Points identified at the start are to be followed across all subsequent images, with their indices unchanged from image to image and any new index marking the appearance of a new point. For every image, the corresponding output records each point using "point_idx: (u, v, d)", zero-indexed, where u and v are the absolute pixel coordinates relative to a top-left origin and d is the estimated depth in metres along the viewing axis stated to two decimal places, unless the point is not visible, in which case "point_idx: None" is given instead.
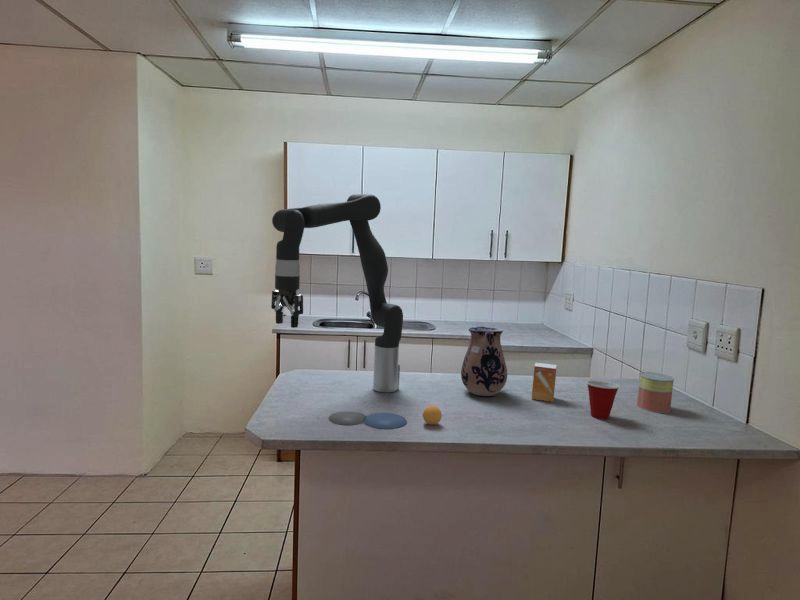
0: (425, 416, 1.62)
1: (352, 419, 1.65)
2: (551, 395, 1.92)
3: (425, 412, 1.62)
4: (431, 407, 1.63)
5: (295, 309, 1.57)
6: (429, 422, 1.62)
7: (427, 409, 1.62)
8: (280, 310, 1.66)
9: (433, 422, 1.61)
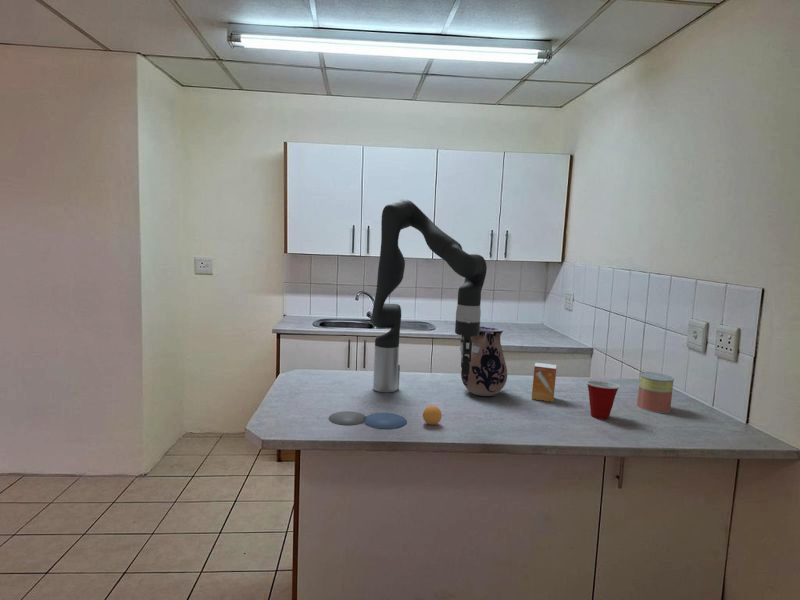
0: (425, 416, 1.62)
1: (352, 419, 1.65)
2: (551, 395, 1.92)
3: (425, 412, 1.62)
4: (431, 407, 1.63)
5: None
6: (429, 422, 1.62)
7: (427, 409, 1.62)
8: None
9: (433, 422, 1.61)
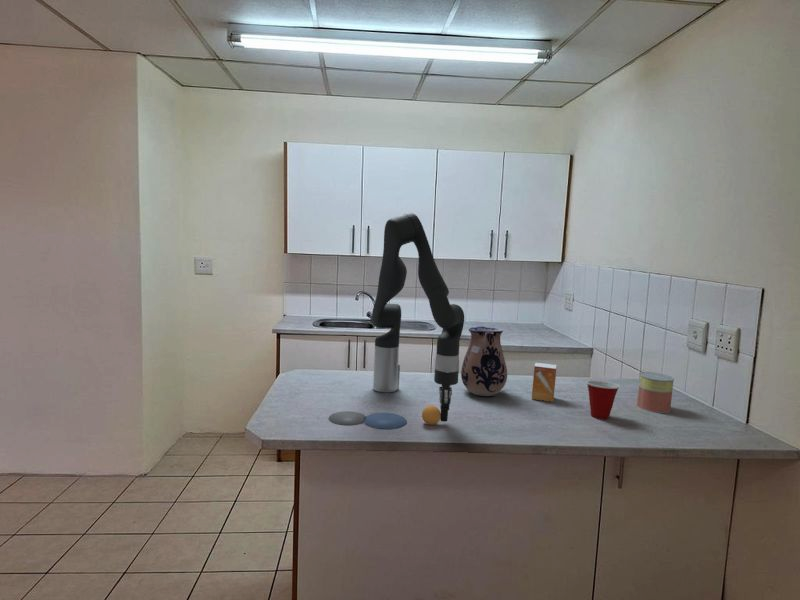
0: (424, 416, 1.62)
1: (352, 419, 1.65)
2: (551, 395, 1.92)
3: (424, 412, 1.62)
4: (430, 407, 1.63)
5: None
6: (428, 422, 1.62)
7: (426, 409, 1.62)
8: None
9: (432, 422, 1.61)
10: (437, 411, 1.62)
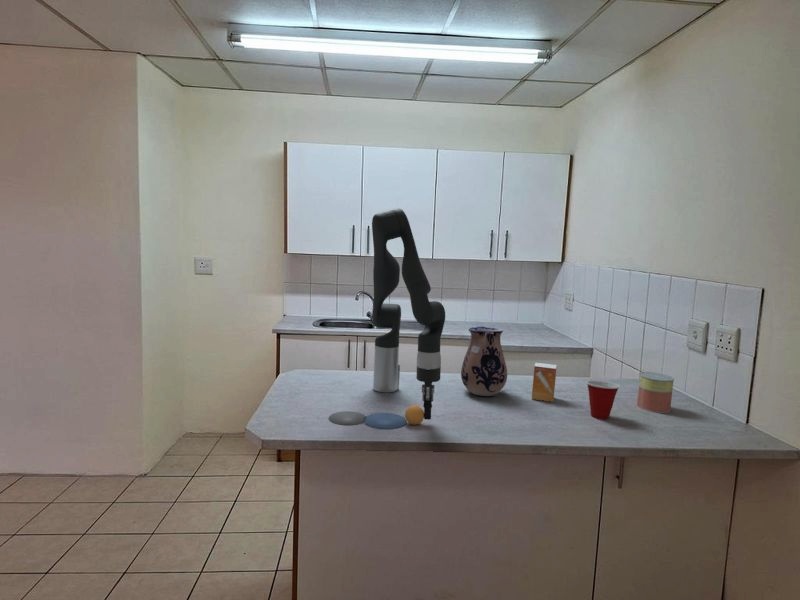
0: (409, 422, 1.62)
1: (352, 419, 1.65)
2: (551, 395, 1.92)
3: (406, 419, 1.62)
4: (406, 411, 1.63)
5: None
6: (416, 423, 1.61)
7: (405, 416, 1.63)
8: None
9: (418, 420, 1.61)
10: (412, 409, 1.61)
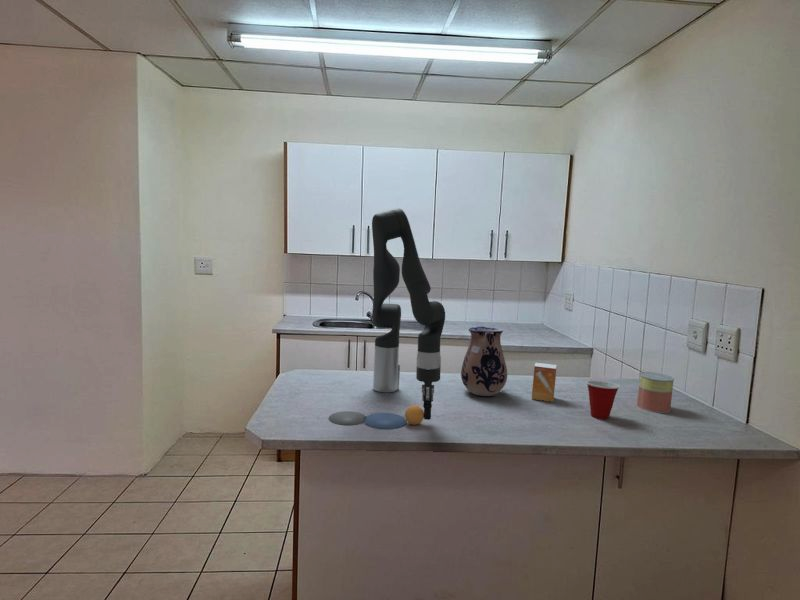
0: (409, 422, 1.62)
1: (352, 419, 1.65)
2: (551, 395, 1.92)
3: (406, 419, 1.62)
4: (406, 412, 1.63)
5: None
6: (416, 423, 1.61)
7: (405, 416, 1.63)
8: None
9: (417, 420, 1.61)
10: (412, 409, 1.61)
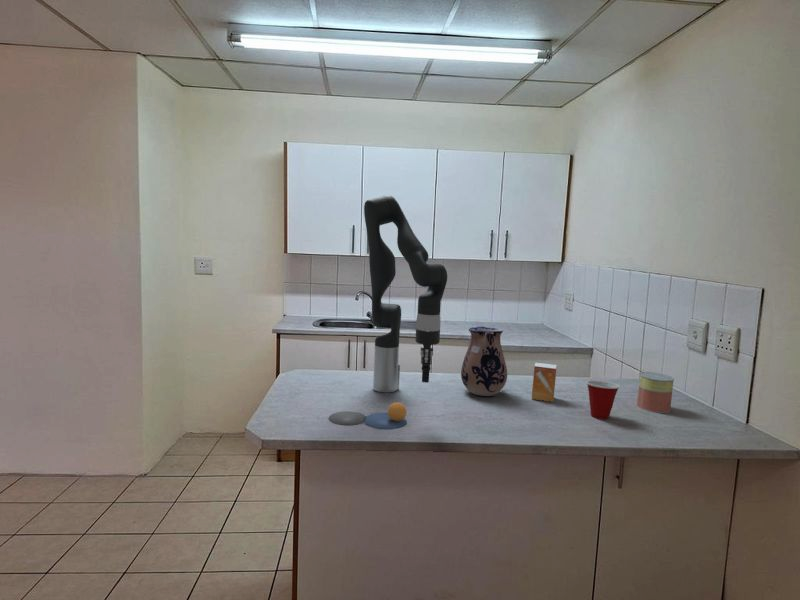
0: (401, 415, 1.63)
1: (352, 419, 1.65)
2: (551, 395, 1.92)
3: (400, 418, 1.63)
4: None
5: None
6: (398, 408, 1.63)
7: (398, 420, 1.64)
8: None
9: (395, 407, 1.63)
10: (388, 415, 1.64)
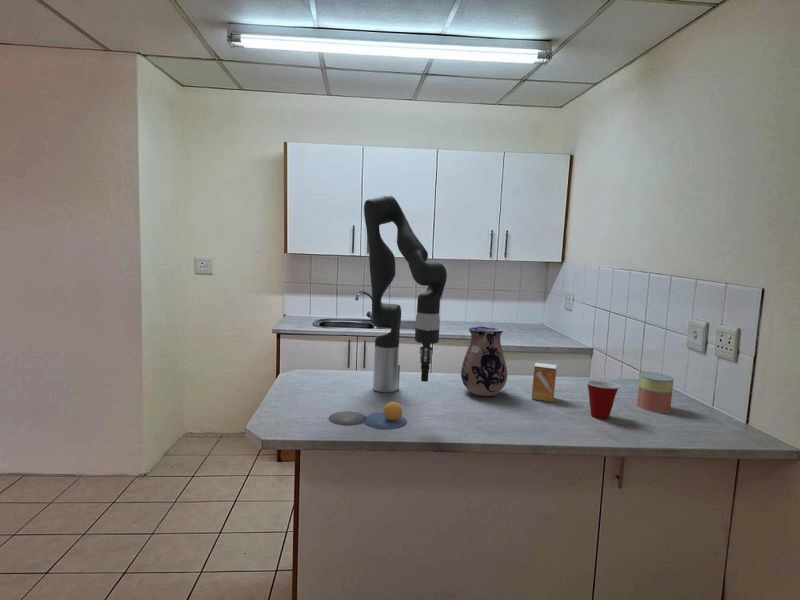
0: (396, 411, 1.63)
1: (352, 419, 1.65)
2: (551, 395, 1.92)
3: (398, 415, 1.63)
4: (394, 420, 1.64)
5: None
6: (392, 406, 1.64)
7: (397, 418, 1.64)
8: None
9: (388, 407, 1.64)
10: (386, 417, 1.65)
